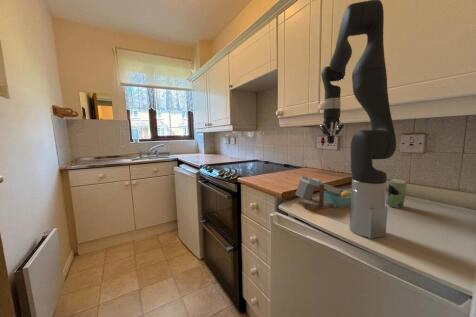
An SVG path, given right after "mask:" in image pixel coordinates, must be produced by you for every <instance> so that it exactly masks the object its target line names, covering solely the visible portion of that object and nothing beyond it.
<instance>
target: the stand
mask: <svg viewBox="0 0 476 317" xmlns="http://www.w3.org/2000/svg"><path fill="white" fill-rule="evenodd" d="M324 191H325V189H324V185H320V187H319V193H318V194H319V197H317V198H313V196H312V197H311V199H310V201H309V200H305V199H298V200H297V203H298V204H299V205H301V206H303V207H304V208H306V209H307V210H308V211H313V210H323V209H330V208H335V205H333V204H331V203H329V202H327V201H325V200H324Z"/></svg>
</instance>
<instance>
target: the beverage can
mask: <svg viewBox="0 0 476 317" xmlns="http://www.w3.org/2000/svg"><path fill="white" fill-rule="evenodd" d="M407 188H408V185H407V183H406V181H405V180H404V179H399V178H391V179H390V180H389V182H388V186H387V190H386V192H387V193H386V197H385V204H387V205H388V206H389V207H391V208H396V209H399V208H402V207H404V204H405V197H406V192H407Z"/></svg>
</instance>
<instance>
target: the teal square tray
mask: <svg viewBox="0 0 476 317" xmlns="http://www.w3.org/2000/svg"><path fill="white" fill-rule="evenodd" d="M340 189H341V191H340V194H338V193H335V192H332V191H329V190H324V200H325V201H327V202H329V203H331V204H333V205H334V207H337V208H344V207H351V191H349V190H345V189H342V188H340ZM343 191H347V192H349V193H350V197H341V193H342V192H343Z"/></svg>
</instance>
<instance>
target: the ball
mask: <svg viewBox="0 0 476 317" xmlns="http://www.w3.org/2000/svg"><path fill="white" fill-rule="evenodd" d="M347 191H348V190H346V191H343V192H342V193H341V197H350V193H349V192H350V191H349V192H347Z"/></svg>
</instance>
